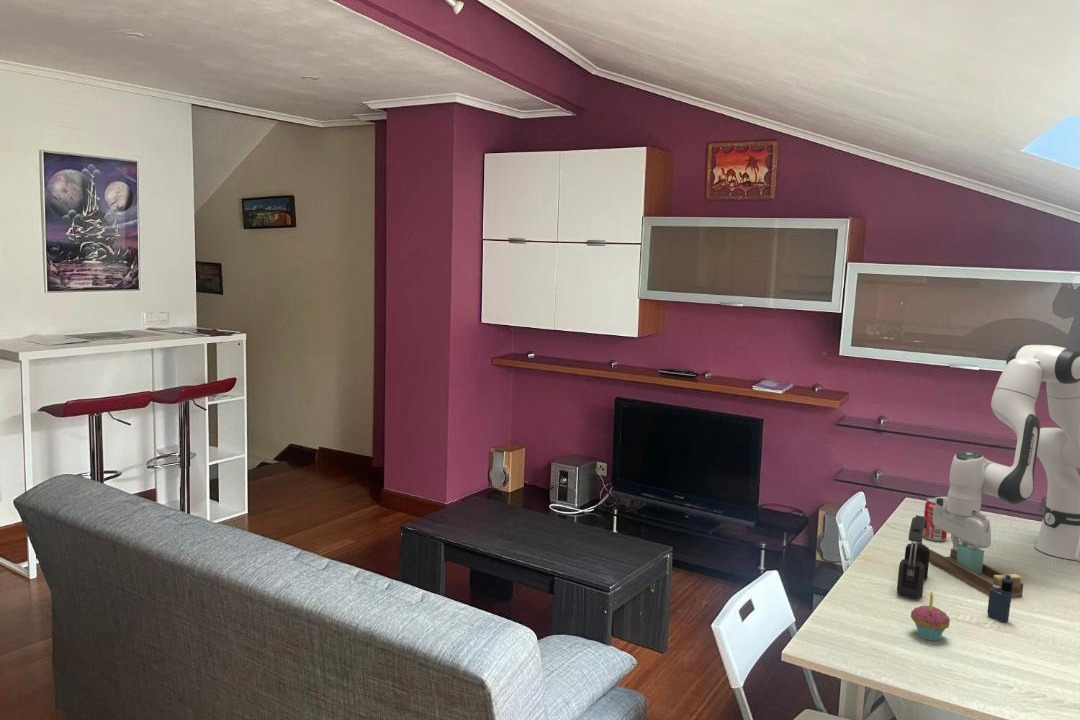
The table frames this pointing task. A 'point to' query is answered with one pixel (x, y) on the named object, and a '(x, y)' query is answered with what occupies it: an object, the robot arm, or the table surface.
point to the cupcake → (930, 621)
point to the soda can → (931, 530)
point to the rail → (973, 579)
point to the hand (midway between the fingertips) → (958, 551)
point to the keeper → (970, 557)
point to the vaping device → (1000, 600)
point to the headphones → (914, 562)
